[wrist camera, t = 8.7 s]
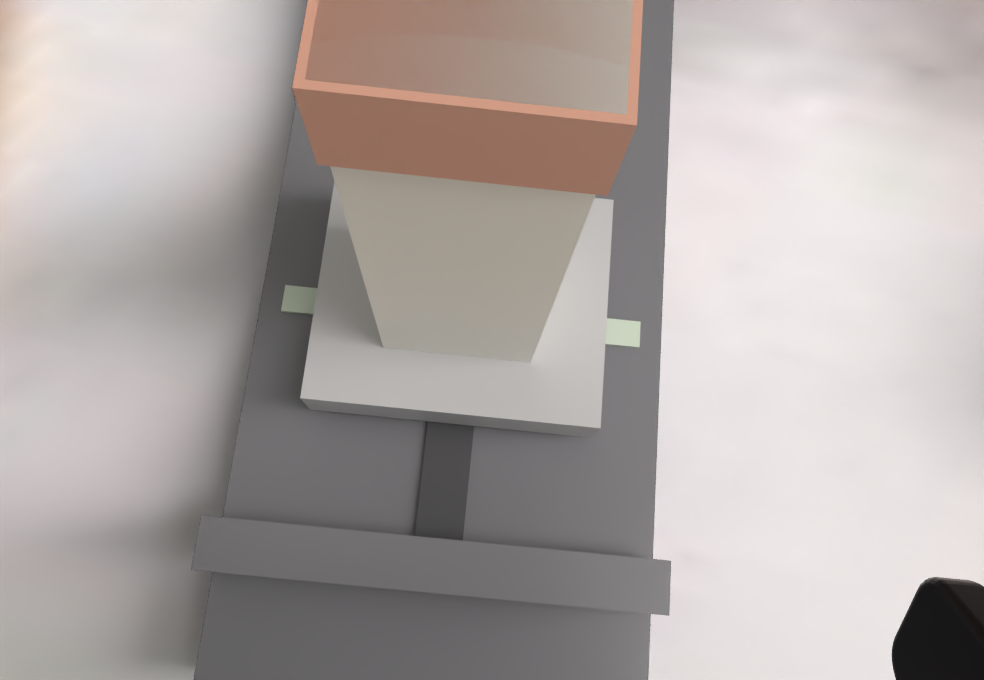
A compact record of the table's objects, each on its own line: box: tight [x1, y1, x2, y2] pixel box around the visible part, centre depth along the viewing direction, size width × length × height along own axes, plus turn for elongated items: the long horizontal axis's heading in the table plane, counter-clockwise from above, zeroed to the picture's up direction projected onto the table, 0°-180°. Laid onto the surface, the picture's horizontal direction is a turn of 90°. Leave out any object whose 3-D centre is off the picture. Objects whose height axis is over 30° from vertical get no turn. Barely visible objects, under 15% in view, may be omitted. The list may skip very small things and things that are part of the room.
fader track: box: [191, 0, 674, 680], centre depth 19 cm, size 22×9×3 cm, turn 175°
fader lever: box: [292, 0, 643, 438], centre depth 13 cm, size 5×6×11 cm
